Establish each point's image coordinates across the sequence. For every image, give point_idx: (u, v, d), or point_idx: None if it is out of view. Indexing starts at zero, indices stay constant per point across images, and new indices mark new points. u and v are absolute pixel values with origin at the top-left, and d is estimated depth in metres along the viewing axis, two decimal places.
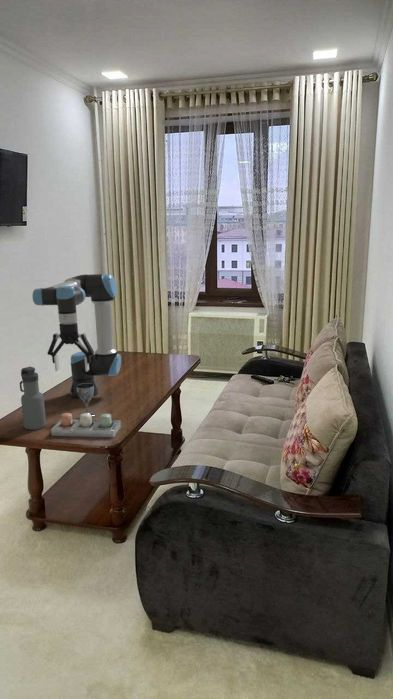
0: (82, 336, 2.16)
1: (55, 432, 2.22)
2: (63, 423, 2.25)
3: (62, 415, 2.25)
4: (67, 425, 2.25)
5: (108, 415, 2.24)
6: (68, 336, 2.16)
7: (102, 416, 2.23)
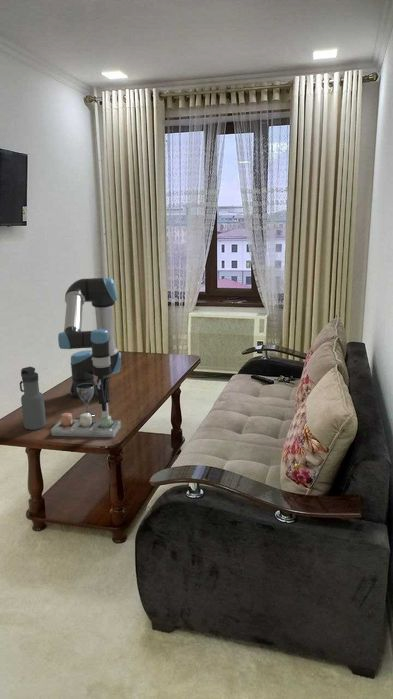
0: None
1: (55, 432, 2.22)
2: (63, 423, 2.25)
3: (62, 415, 2.25)
4: (67, 425, 2.25)
5: (108, 417, 2.24)
6: None
7: (102, 418, 2.23)
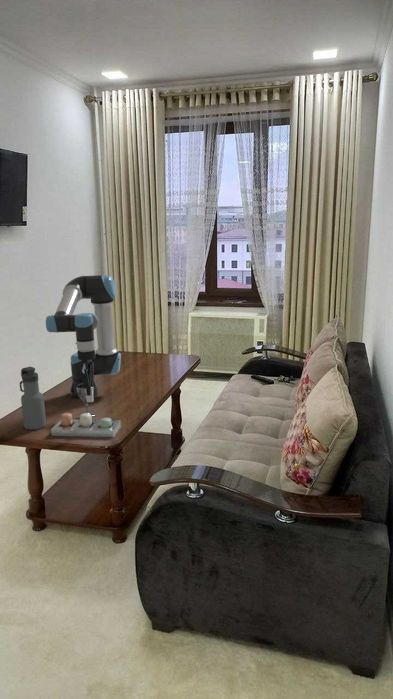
0: None
1: (55, 432, 2.22)
2: (63, 423, 2.25)
3: (62, 415, 2.25)
4: (67, 425, 2.25)
5: (108, 419, 2.25)
6: None
7: (102, 420, 2.24)
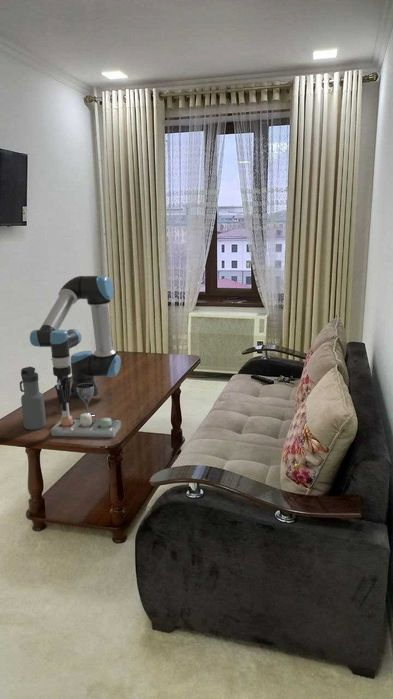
0: None
1: (55, 432, 2.22)
2: (63, 425, 2.25)
3: (62, 417, 2.26)
4: None
5: (108, 419, 2.25)
6: None
7: (102, 420, 2.24)
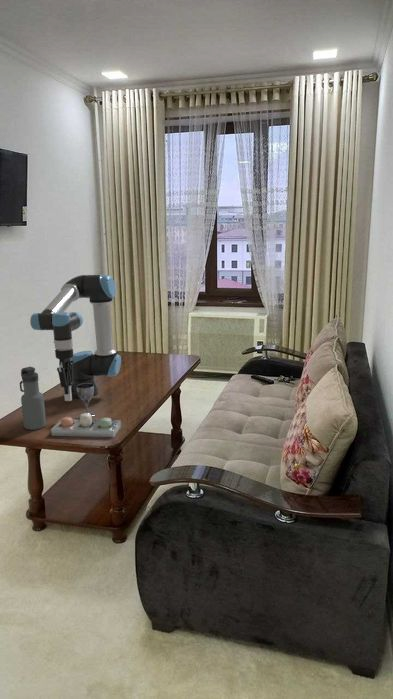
0: None
1: (55, 432, 2.22)
2: None
3: (62, 419, 2.26)
4: None
5: (108, 419, 2.25)
6: None
7: (102, 420, 2.24)
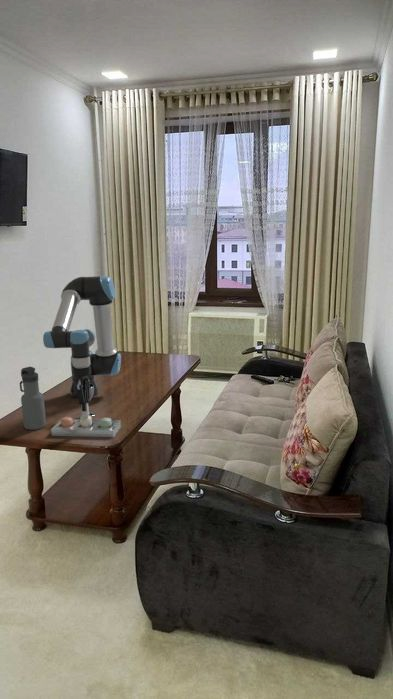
0: None
1: (55, 432, 2.22)
2: None
3: (62, 419, 2.26)
4: None
5: (108, 419, 2.25)
6: None
7: (102, 420, 2.24)
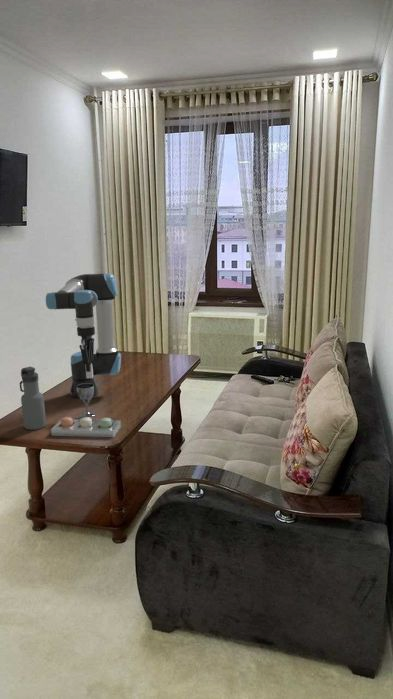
0: None
1: (55, 432, 2.22)
2: None
3: (62, 419, 2.26)
4: None
5: (108, 419, 2.25)
6: None
7: (102, 420, 2.24)
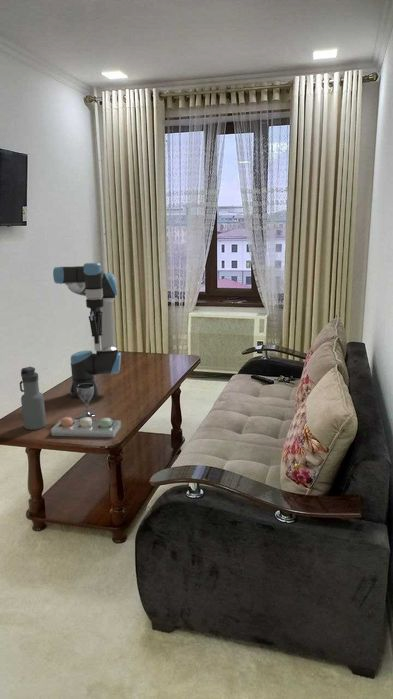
0: None
1: (55, 432, 2.22)
2: None
3: (62, 419, 2.26)
4: None
5: (108, 419, 2.25)
6: None
7: (102, 420, 2.24)
